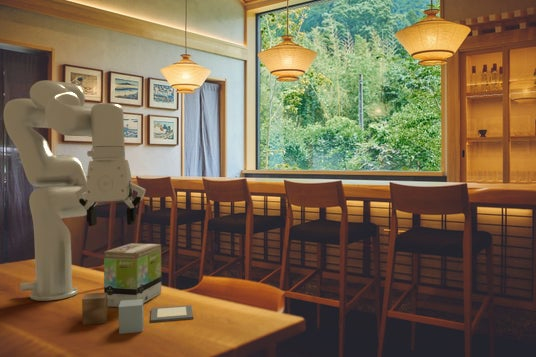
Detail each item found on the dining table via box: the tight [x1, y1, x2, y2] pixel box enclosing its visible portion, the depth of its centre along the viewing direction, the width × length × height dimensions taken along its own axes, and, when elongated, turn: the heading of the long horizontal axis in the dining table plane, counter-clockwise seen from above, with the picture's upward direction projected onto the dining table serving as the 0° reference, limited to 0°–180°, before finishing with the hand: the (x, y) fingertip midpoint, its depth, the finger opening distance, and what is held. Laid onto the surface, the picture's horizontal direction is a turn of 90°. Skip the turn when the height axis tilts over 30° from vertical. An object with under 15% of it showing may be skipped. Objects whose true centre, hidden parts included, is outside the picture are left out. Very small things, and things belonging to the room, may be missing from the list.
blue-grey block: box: [118, 299, 145, 334], centre depth 108 cm, size 5×5×6 cm
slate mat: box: [149, 304, 194, 323], centre depth 119 cm, size 10×10×1 cm
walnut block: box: [81, 292, 109, 326], centre depth 115 cm, size 5×5×6 cm
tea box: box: [103, 242, 162, 308], centre depth 132 cm, size 15×10×15 cm, turn 168°
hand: (111, 224), depth 117 cm, fingers open, 9 cm apart
